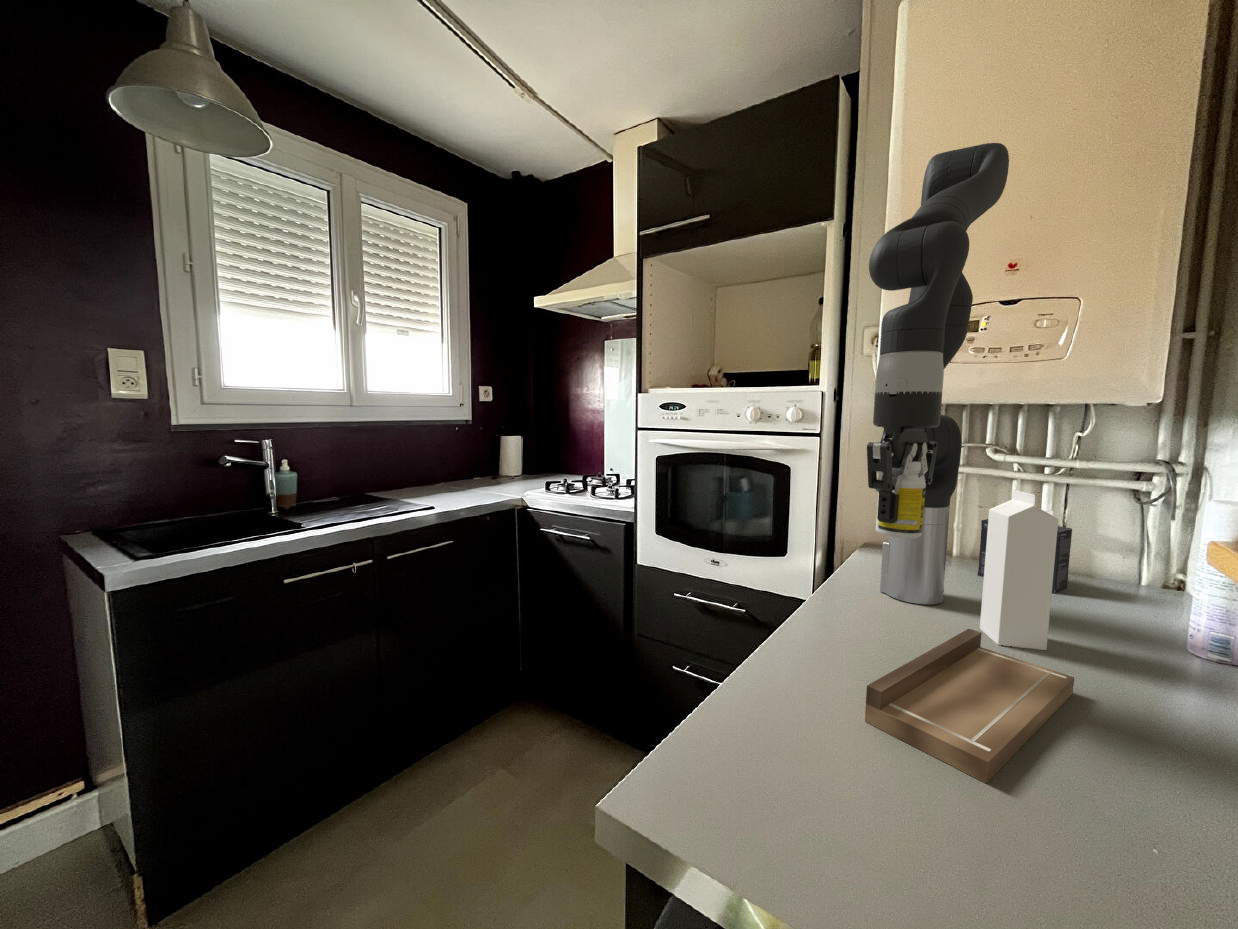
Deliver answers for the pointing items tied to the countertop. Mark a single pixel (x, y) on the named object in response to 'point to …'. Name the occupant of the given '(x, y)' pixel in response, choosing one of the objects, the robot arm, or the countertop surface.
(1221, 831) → the countertop surface
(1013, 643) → the milk
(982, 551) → the small box
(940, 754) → the board
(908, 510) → the supplement bottle
